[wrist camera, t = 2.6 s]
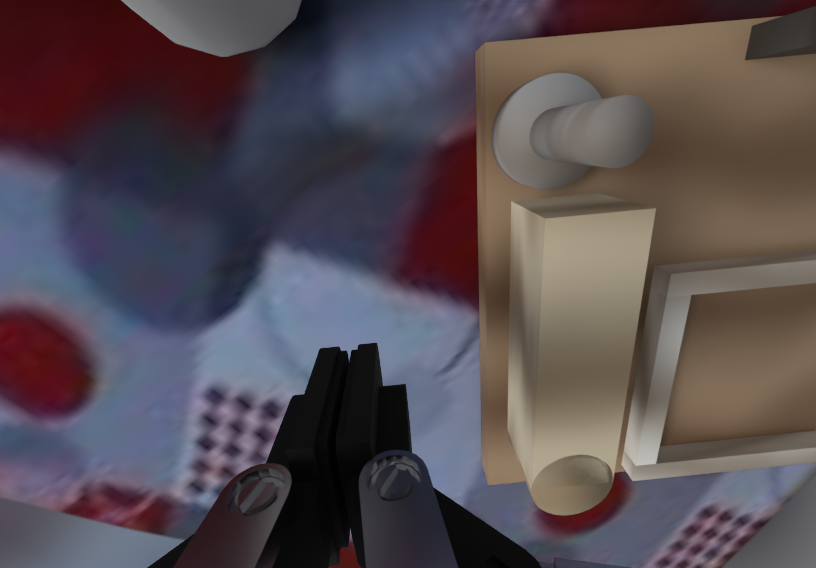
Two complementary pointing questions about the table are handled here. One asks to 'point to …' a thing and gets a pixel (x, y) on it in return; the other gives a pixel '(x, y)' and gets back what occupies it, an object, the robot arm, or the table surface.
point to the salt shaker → (218, 22)
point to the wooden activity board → (670, 226)
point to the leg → (572, 340)
